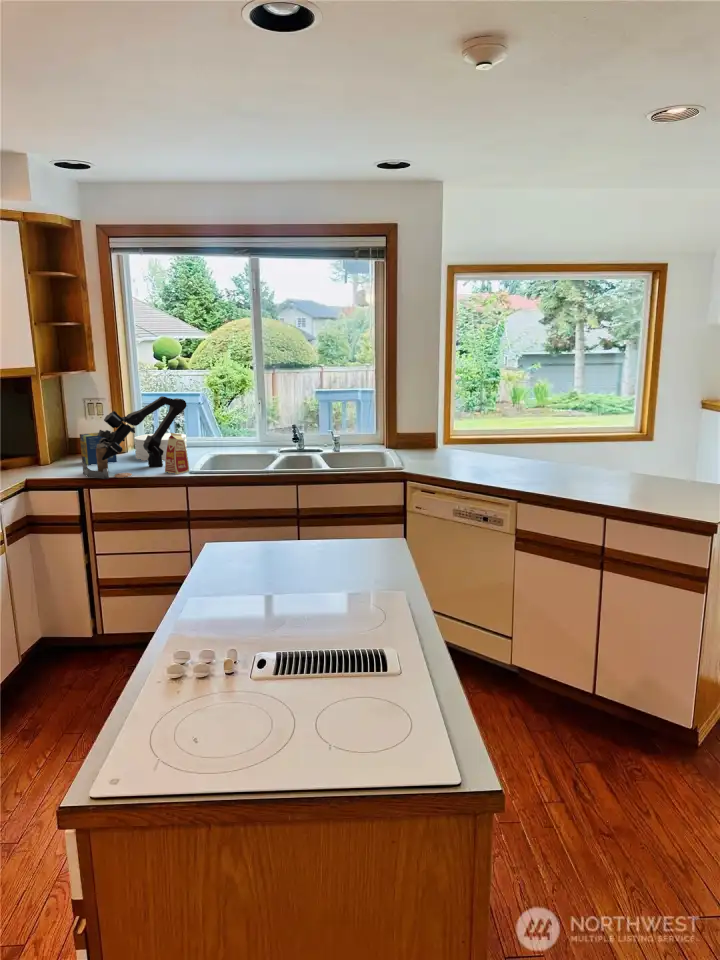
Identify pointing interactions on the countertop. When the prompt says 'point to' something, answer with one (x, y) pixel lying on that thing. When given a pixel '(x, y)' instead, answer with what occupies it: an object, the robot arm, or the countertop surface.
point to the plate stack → (144, 455)
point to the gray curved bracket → (95, 472)
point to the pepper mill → (100, 453)
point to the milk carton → (176, 455)
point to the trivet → (122, 475)
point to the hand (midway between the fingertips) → (99, 458)
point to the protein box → (91, 448)
